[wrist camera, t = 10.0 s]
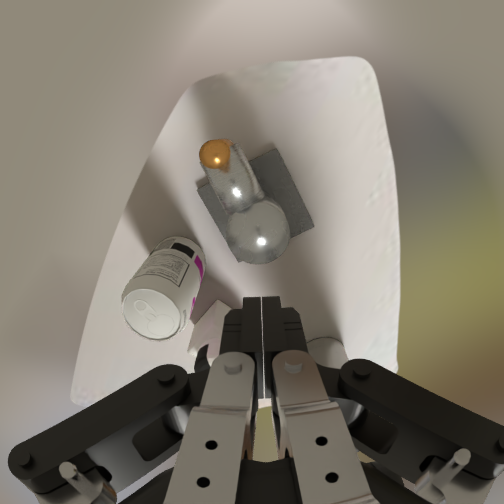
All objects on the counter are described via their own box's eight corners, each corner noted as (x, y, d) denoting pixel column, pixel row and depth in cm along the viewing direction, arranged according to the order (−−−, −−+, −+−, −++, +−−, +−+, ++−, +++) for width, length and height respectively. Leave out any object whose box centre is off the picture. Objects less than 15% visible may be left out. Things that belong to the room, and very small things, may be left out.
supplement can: (217, 265, 44) (202, 325, 30) (178, 293, 46) (153, 355, 32) (182, 223, 42) (149, 269, 28) (144, 255, 43) (103, 307, 30)
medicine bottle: (227, 346, 50) (222, 397, 39) (193, 325, 48) (180, 375, 37) (252, 321, 48) (252, 372, 37) (217, 298, 46) (207, 347, 35)
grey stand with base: (313, 224, 41) (324, 243, 35) (238, 259, 44) (236, 284, 37) (276, 148, 37) (281, 151, 30) (198, 188, 40) (186, 200, 33)
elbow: (291, 226, 37) (302, 256, 28) (245, 247, 38) (242, 282, 29) (243, 128, 32) (240, 125, 24) (195, 152, 33) (175, 158, 25)
